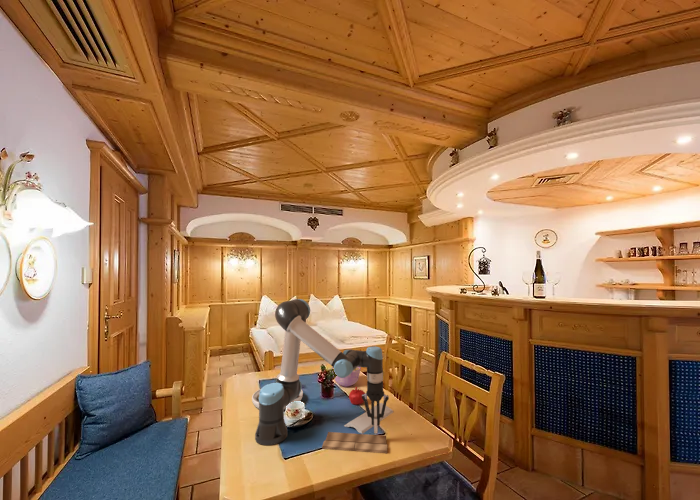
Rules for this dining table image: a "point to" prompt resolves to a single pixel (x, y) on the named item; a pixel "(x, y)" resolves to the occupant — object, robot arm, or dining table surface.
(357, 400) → the pomegranate
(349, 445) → the laid row
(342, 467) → the dining table surface
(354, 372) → the bowl of food
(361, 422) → the crown molding
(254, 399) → the bowl
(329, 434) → the plank
